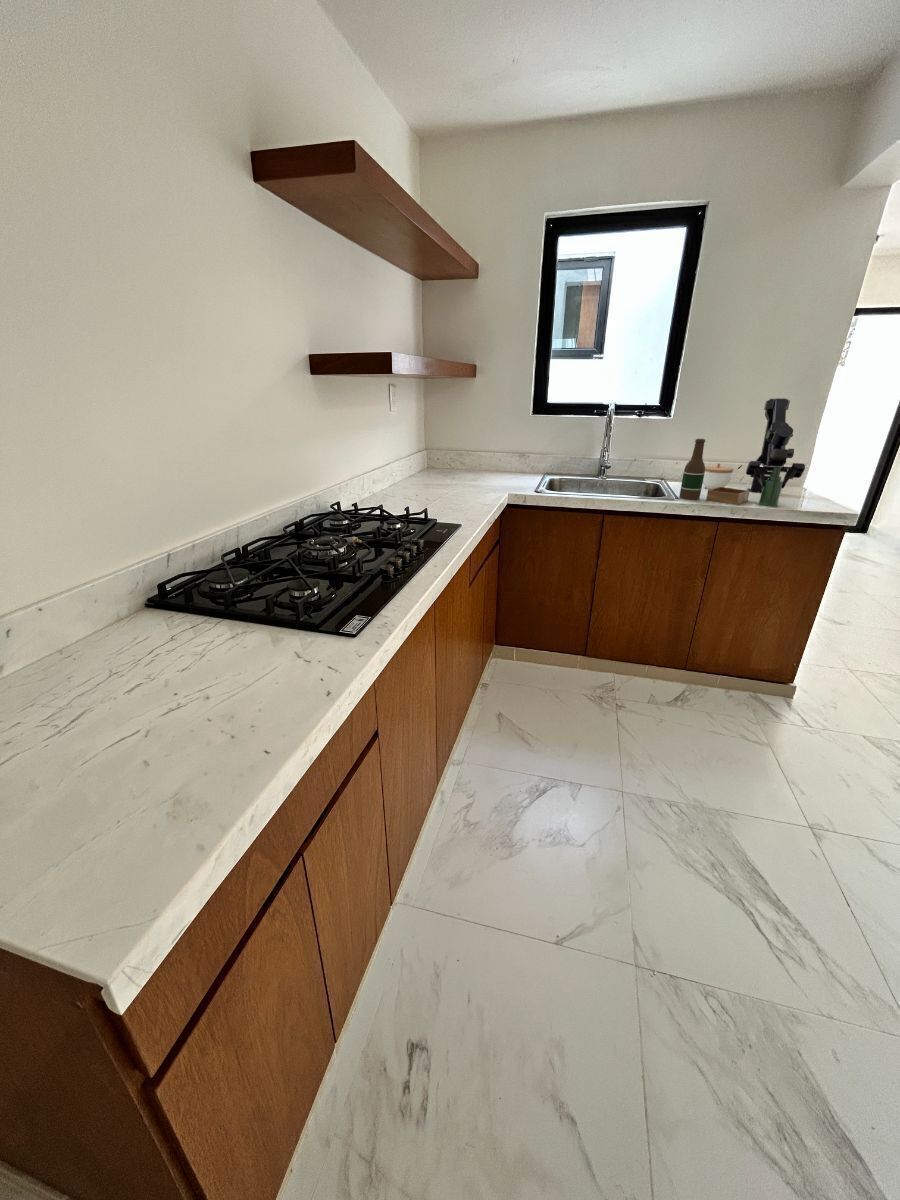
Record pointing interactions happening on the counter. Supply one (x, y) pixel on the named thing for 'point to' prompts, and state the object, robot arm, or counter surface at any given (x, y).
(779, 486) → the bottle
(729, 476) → the lidded bowl
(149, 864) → the counter surface
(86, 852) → the counter surface
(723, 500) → the wooden tray
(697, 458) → the beer bottle
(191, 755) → the counter surface
